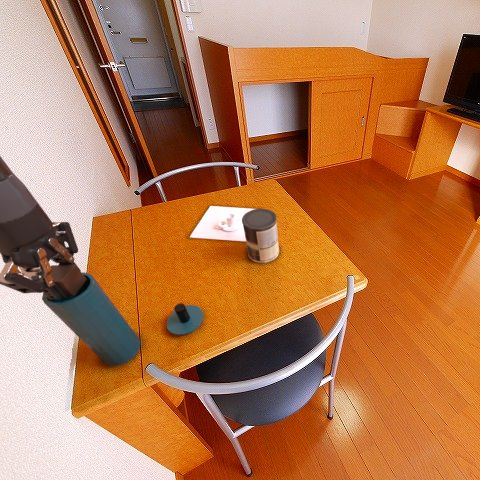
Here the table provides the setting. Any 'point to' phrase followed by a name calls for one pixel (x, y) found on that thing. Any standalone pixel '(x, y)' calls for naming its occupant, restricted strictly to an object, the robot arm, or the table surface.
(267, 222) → the coffee can
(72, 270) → the block
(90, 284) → the tin
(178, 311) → the lid
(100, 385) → the table surface
